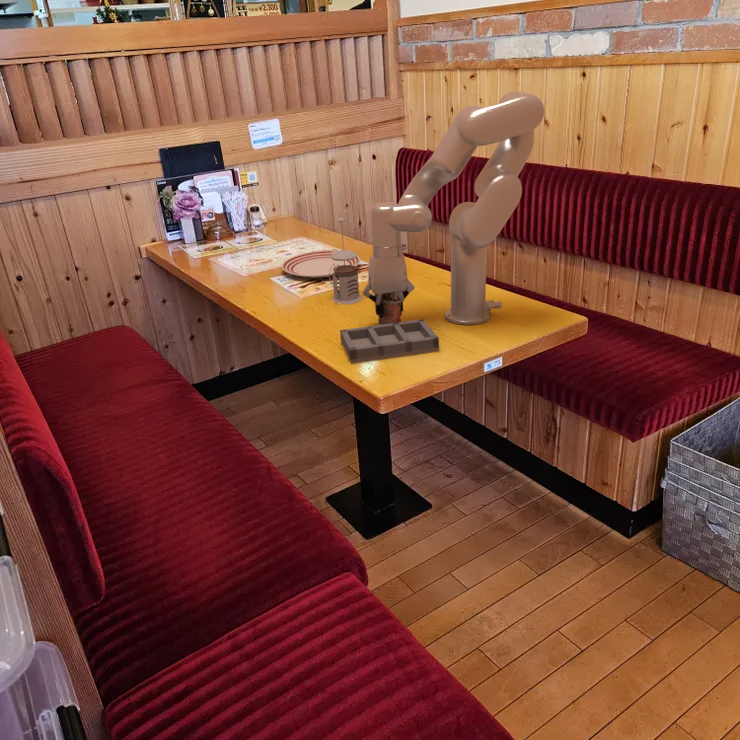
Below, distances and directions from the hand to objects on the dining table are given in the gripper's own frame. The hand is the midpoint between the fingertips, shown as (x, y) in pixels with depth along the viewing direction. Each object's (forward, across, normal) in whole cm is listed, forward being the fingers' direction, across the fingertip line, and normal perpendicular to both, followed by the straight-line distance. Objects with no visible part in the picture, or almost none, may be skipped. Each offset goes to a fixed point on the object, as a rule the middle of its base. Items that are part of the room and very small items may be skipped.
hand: (389, 314), depth 184 cm
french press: (+3, +8, -24) cm, 25 cm away
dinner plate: (+3, +10, -57) cm, 58 cm away
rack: (+3, +4, +14) cm, 15 cm away
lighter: (+3, 0, 0) cm, 3 cm away
